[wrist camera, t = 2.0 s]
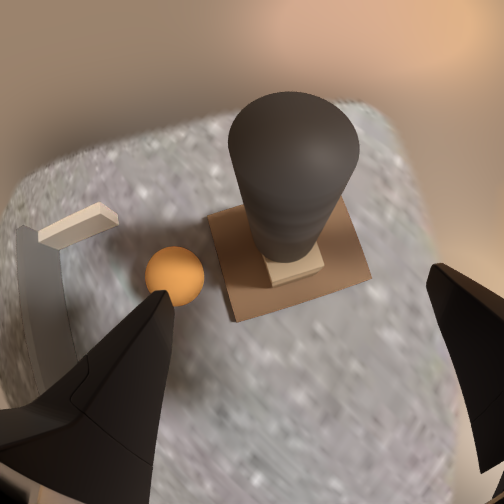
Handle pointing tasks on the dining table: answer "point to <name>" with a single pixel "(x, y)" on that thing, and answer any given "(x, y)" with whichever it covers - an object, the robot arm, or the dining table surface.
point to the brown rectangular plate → (255, 273)
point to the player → (291, 176)
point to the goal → (51, 289)
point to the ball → (175, 274)
